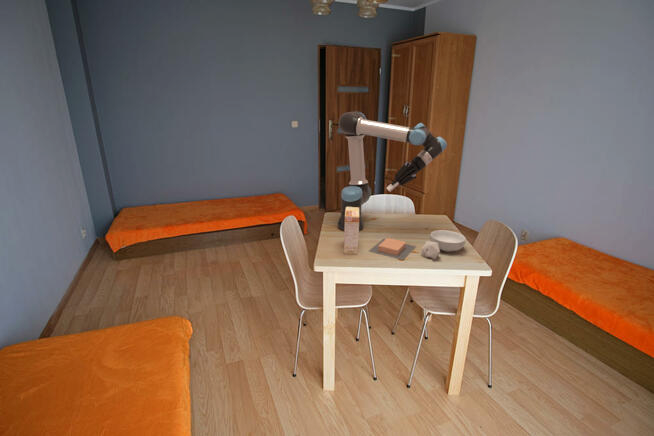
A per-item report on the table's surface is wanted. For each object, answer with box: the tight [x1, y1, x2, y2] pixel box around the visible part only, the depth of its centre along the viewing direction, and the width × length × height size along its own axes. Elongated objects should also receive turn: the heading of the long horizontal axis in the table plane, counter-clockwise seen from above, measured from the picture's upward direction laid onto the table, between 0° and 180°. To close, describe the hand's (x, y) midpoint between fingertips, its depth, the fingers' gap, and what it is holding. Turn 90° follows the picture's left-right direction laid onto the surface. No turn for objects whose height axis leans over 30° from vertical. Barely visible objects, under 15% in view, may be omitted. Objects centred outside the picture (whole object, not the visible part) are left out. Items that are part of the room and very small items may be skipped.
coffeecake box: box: [343, 207, 360, 255], centre depth 172 cm, size 15×7×20 cm, turn 175°
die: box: [421, 240, 441, 260], centre depth 165 cm, size 8×9×10 cm
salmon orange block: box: [378, 237, 407, 256], centre depth 172 cm, size 10×3×12 cm
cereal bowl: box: [429, 229, 467, 253], centre depth 175 cm, size 17×17×7 cm
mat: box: [368, 238, 417, 261], centre depth 173 cm, size 18×19×1 cm
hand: (388, 189), depth 185 cm, fingers closed
